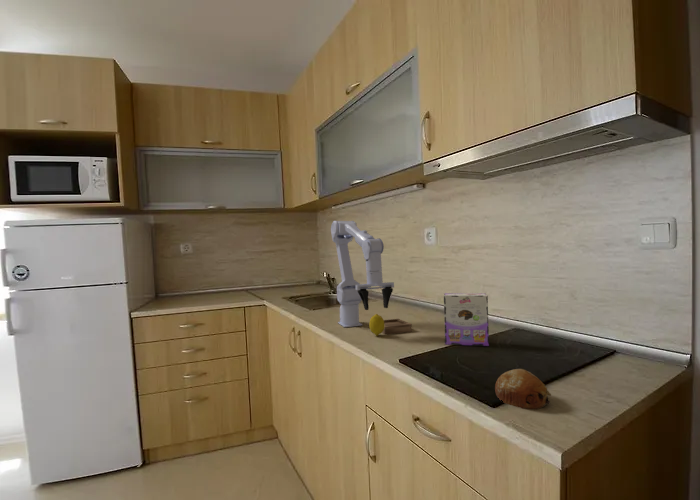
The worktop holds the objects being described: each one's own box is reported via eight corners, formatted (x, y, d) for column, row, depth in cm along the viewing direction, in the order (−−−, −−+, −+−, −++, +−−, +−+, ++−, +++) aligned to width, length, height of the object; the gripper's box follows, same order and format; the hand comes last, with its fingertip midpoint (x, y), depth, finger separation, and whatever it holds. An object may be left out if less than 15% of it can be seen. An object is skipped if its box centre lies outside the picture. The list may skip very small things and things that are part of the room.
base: (373, 328, 144) (373, 321, 144) (398, 325, 147) (398, 318, 147) (385, 334, 133) (385, 326, 133) (411, 331, 137) (411, 324, 137)
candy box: (487, 342, 120) (486, 292, 120) (489, 346, 115) (488, 295, 114) (444, 340, 124) (443, 292, 124) (444, 344, 118) (443, 294, 118)
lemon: (372, 338, 128) (371, 315, 128) (367, 334, 133) (367, 313, 133) (386, 336, 130) (386, 314, 129) (381, 333, 135) (381, 312, 135)
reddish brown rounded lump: (524, 405, 81) (510, 369, 84) (565, 401, 73) (548, 361, 76) (494, 415, 77) (480, 377, 80) (534, 412, 68) (517, 369, 71)
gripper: (359, 272, 126) (361, 311, 125) (396, 270, 131) (399, 307, 130) (352, 272, 132) (354, 309, 132) (388, 270, 137) (390, 306, 137)
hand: (376, 308), depth 131 cm, fingers open, 7 cm apart
